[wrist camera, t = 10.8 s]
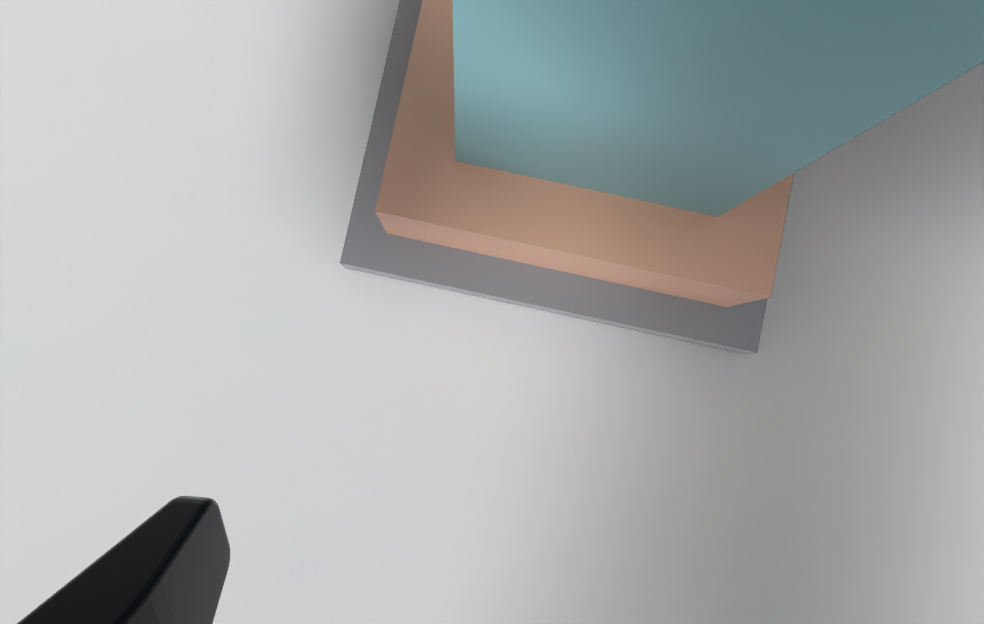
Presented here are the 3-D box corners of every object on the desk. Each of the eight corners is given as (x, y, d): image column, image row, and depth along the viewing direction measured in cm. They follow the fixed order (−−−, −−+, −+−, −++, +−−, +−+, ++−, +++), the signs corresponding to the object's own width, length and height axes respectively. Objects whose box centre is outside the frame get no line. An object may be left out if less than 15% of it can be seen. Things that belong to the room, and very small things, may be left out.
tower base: (743, 353, 22) (805, 350, 18) (345, 267, 22) (319, 245, 18) (816, -30, 23) (890, -113, 19) (432, -117, 23) (427, -220, 19)
